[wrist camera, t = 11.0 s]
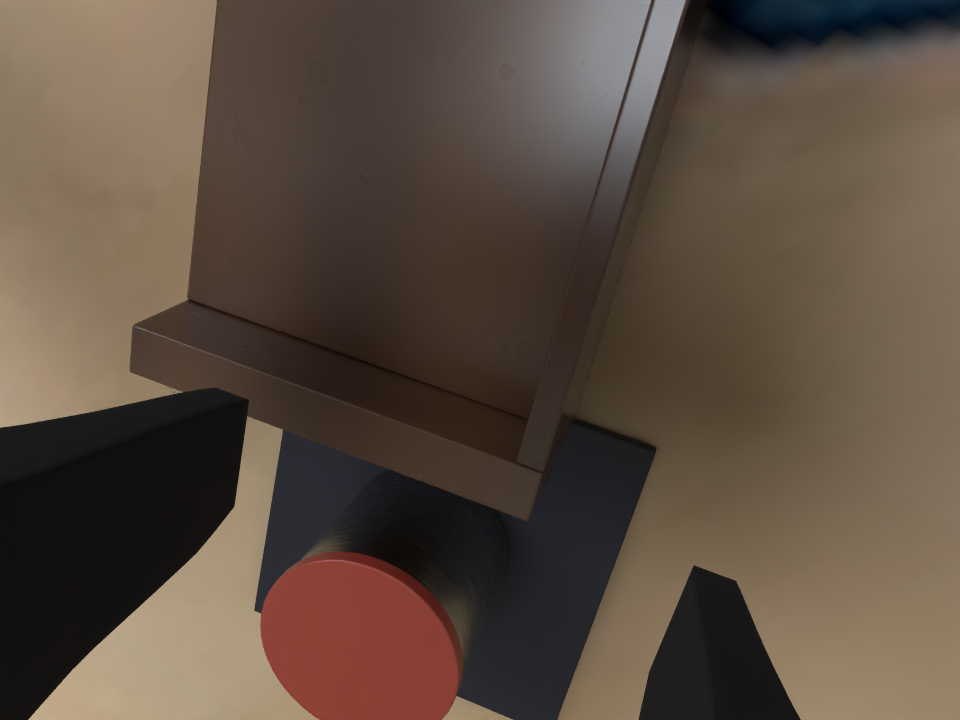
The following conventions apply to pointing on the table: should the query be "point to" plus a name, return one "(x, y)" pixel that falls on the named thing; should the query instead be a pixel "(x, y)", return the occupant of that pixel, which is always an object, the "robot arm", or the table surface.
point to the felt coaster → (532, 567)
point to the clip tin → (387, 603)
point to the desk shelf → (420, 222)
